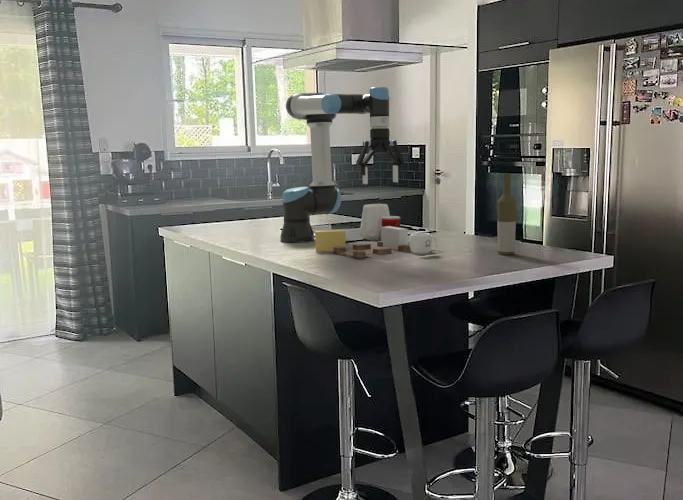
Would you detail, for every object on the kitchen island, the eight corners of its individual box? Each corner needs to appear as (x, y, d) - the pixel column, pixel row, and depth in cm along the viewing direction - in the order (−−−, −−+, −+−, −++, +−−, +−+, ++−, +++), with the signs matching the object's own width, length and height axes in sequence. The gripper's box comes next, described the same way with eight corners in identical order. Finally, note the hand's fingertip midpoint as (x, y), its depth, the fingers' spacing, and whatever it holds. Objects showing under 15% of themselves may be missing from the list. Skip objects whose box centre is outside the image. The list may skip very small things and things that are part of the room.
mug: (418, 256, 256) (417, 235, 255) (405, 253, 263) (404, 233, 262) (443, 253, 262) (443, 233, 261) (430, 250, 269) (430, 230, 268)
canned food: (399, 243, 289) (399, 217, 287) (380, 243, 291) (380, 218, 289) (401, 241, 296) (401, 215, 295) (383, 241, 298) (382, 215, 296)
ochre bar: (315, 252, 274) (315, 232, 273) (315, 250, 278) (315, 230, 277) (345, 251, 275) (345, 231, 273) (345, 249, 279) (344, 229, 277)
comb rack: (333, 253, 269) (333, 246, 269) (383, 247, 282) (383, 240, 281) (358, 259, 254) (358, 252, 254) (410, 252, 267) (410, 245, 266)
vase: (387, 241, 297) (386, 206, 295) (356, 240, 302) (355, 206, 300) (395, 236, 311) (395, 203, 308) (365, 236, 315) (364, 203, 313)
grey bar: (381, 246, 277) (381, 226, 276) (389, 245, 279) (389, 226, 278) (399, 250, 267) (399, 229, 266) (407, 249, 269) (407, 228, 268)
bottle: (519, 254, 255) (521, 173, 250) (505, 256, 252) (506, 174, 247) (506, 252, 261) (507, 172, 257) (492, 253, 258) (493, 173, 253)
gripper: (355, 128, 258) (356, 185, 261) (412, 127, 269) (412, 181, 272) (346, 128, 264) (347, 184, 268) (402, 127, 275) (402, 181, 279)
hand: (380, 183), depth 270 cm, fingers open, 13 cm apart
